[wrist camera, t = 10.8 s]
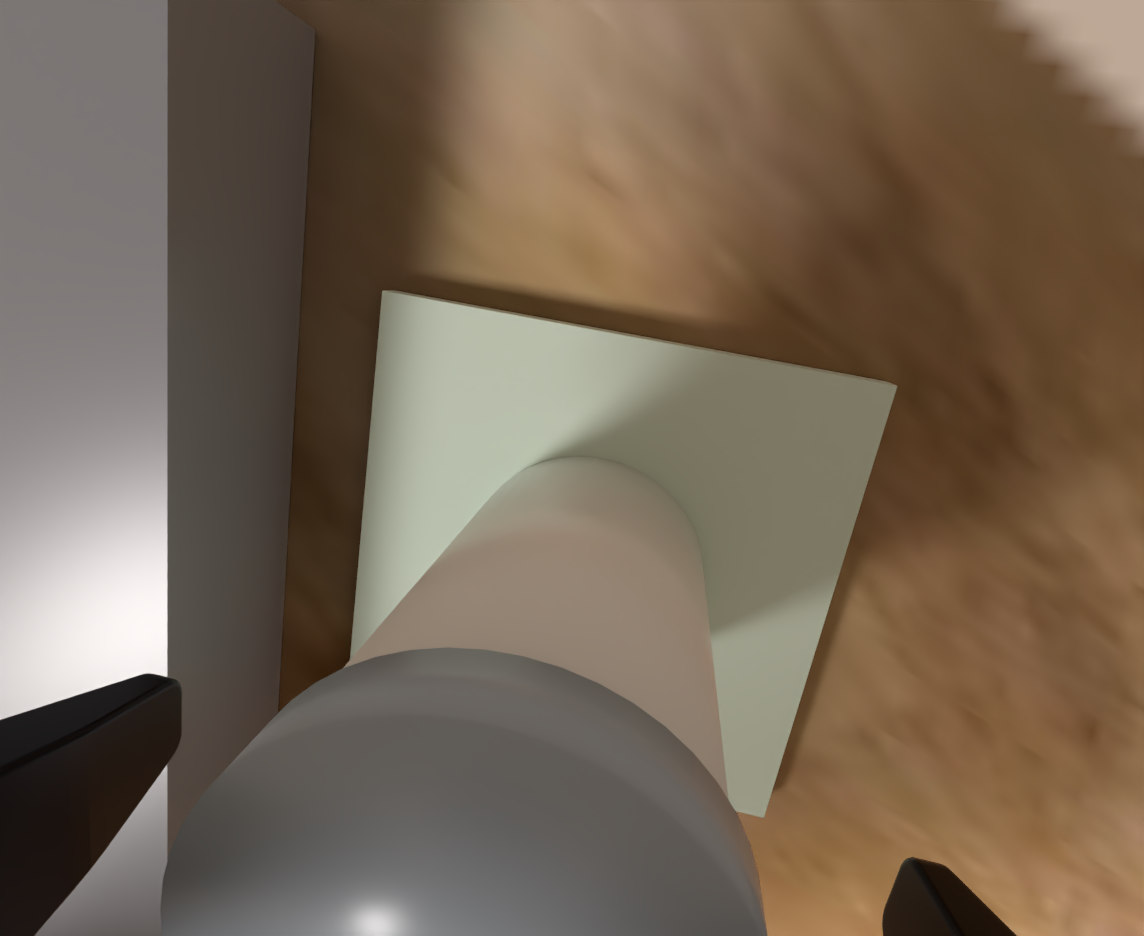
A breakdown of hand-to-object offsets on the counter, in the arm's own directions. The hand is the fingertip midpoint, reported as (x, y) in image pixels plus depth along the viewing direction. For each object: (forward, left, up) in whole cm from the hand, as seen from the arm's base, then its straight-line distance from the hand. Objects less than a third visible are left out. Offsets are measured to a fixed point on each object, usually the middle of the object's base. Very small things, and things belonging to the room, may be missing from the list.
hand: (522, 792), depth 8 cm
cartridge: (0, 0, -6) cm, 7 cm away
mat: (0, 0, -7) cm, 7 cm away
